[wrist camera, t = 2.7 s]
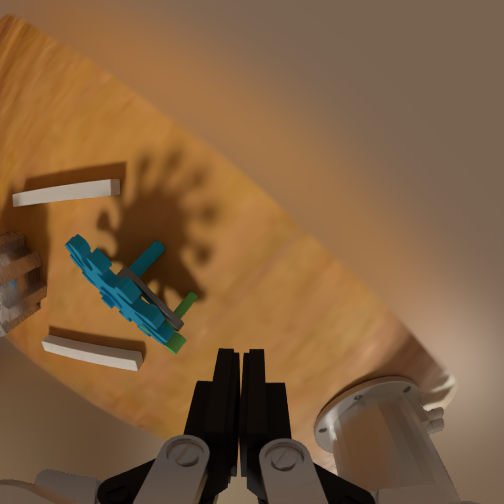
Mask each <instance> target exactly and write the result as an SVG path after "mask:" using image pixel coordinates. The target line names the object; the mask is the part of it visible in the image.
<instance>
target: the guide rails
mask: <svg viewBox="0 0 504 504" xmlns="http://www.w3.org/2000/svg"><path fill="white" fill-rule="evenodd" d="M119 194H120V179H109V180H100V181H91V182H84V183H76V184H69V185H62V186H56V187H50V188H44V189H38V190H32V191H27V192H22V193H17V194H13V207H17V206H24V205H31V204H38V203H46V202H54V201H62V200H71V199H81V198H91V197H102V196H113V195H119ZM42 344H43V347H44V350H45V351H49V352H52V353H56V354H59V355H63V356H67V357H71V358H75V359H79V360H83V361H87V362H92V363H96V364H101V365H106V366H111V367H116V368H122V369H127V370H133V371H138V370H139V369H140V367H141V365H142V364H143V358H142V354H141V352H140V351H132V350H125V349H119V348H113V347H107V346H101V345H96V344H90V343H85V342H80V341H75V340H71V339H66V338H62V337H57V336H53V335H48V336H46V337H45V338H44V339H43V340H42Z"/></svg>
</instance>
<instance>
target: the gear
mask: <svg viewBox="0 0 504 504" xmlns="http://www.w3.org/2000/svg"><path fill="white" fill-rule="evenodd" d="M65 247H66V248H67V249H68V251H69V252H70V253H71V255H70V257H71V259H72V260H73V261H74V263H75V264H76V265H77V266H78V267H79V268H80V269H81V270H82V271H83V272H82V273H83V275H84V276H85V277H86V279H87V280H88V281H89V282H90V283H91V284H93V285H94V286H95V287H96V288H98V289H99V290H100V292H99V293H100V294H101V295H102V296H103V297H102V298H101V299H102V300H103V301H104V302H105V303H106V304H107V305H108V306H109V307H110V308H111V309H112V308H113V307H114V305H115V306H116V307H117V308H118V309H119V310H120V311H119V313H120V314H121V315H122V316H124V317H125V318H126V319H127V320H128V321H129V322H131V321H132V320H133V321H134V322H135V323H136V324H137V325H138V326H137V327H138V328H139V329H140V330H141V331H142V332H144V333H145V334H146V335H147V336H149V337H150V336H152V337H153V338H154V339H155V340H157V341H158V342H160V343H161V344H163V345H164V346H165V347H166V348H167V349H168V350H170V351H171V352H172V353H174V354H176V353H177V352H178V351H179V349H180V348H181V347H182V346H183V344H184V343H185V342H186V339H185V338H184V337H183V336H182V335H180V334H179V333H177V332H178V331H179V330H180V329H181V327H182V326H183V325H184V323H183V321H182V320H181V318H182V316H183V315H184V314H185V313H186V311H187V310H188V309H189V308H190V306H191V305H192V304H193V303H194V301H195V300H196V299H197V298H198V297H197V295H196V294H195V293H193V292H192V291H190V292H189V294H188V295H187V296H186V297H185V298H184V300H183V301H182V302H181V303H180V305H179V306H178V307H177V308H176V309H175V311H174V312H172V311H171V310H170V309H169V308H168V307H167V306H166V305H165V304H164V303H163V302H162V301H161V300H160V299H159V298H158V297H157V296H156V295H155V294H154V293H153V292H152V291H151V290H150V289H149V288H148V287H147V286H146V285H145V284H144V283H143V282H142V281H141V280H140V279H139V277H140V276H141V275H142V274H143V273H144V272H145V271H146V270H147V269H148V268H149V267H150V265H151V264H152V263H153V262H154V261H155V260H156V259H157V258H158V257H159V256H160V255H161V254H162V253H163V252H164V251H165V248H164V246H163V245H162V244H161V243H160V242H159V241H155V242H154V243H153V244H152V245H151V246H150V247H149V248H148V249H147V250H146V251H145V252H144V253H143V254H142V255H141V256H140V257H139V258H138V259H137V260H136V261H135V262H134V263H133V264H132V265H131V266H130V267H129V268H128V267H123V269H122V270H121V271H120V272H119V273H118V274H117V275H115V274H114V273H113V272H112V271H111V270H110V269H109V268H110V267H111V266H112V263H111V261H110V260H109V259H108V258H107V257H106V256H105V255H104V254H103V253H102V252H101V251H100V250H99V249H98V248H96V249H95V250H94V251H93V252H92V253H91V251H90V249H91V248H90V246H89V244H88V243H87V241H86V240H85V239H84V238H82V237H81V236H80V235H78V234H77V235H76V236H75V237H72V238H71V239H70V240H69V241H68V242H67V243H66V244H65ZM140 294H141V295H142V296H143V297H144V298H145V299H146V300H147V301H148V302H149V303H150V304H151V305H150V304H148V303H146V302H145V301H143V300H142V299H141V298H139V296H140ZM174 330H175V331H177V332H175V331H174ZM170 337H171V338H170ZM169 338H170V339H169ZM167 341H168V342H167ZM166 342H167V343H166ZM165 343H166V344H165Z"/></svg>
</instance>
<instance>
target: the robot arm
mask: <svg viewBox="0 0 504 504" xmlns="http://www.w3.org/2000/svg"><path fill="white" fill-rule="evenodd" d="M422 401H423V397H422V392H421V391H420V389H419V387H418V386H417V385H416V384H415V382H414V381H412V380H410V379H408V378H405V377H400V376H388V377H381V378H377V379H373V380H370V381H367V382H364V383H362V384H359V385H357V386H355V387H353V388H351V389H349V390H347V391H345V392H344V393H342V394H341V395H339V396H338V397H336V398H335V399H334V400H333V401H331V402H330V403H329V404H328V405H327V406H326V407H325V408H324V409H323V410H322V412H321V413H320V414H319V416H318V418H317V419H316V422H315V425H314V435H315V440H316V442H317V444H318V446H319V447H321V448H322V449H323V450H325V451H327V452H329V453H333V454H334V459H335V464H336V468H337V473H338V476H337V475H335V474H333V473H331V472H329V471H328V470H326V469H324V468H322V467H320V466H319V465H317V464H315V463H313V462H312V459H311V456H310V453H309V451H308V450H307V448H306V447H305V446H304V445H303V444H302V443H300V442H298V441H296V440H293V439H292V437H291V429H290V420H289V412H288V404H287V395H286V387H285V383H265V360H264V349H250V350H249V353H244V356H243V372H242V388H241V394H240V359H239V353H234V349H223V348H219V350H218V355H217V360H216V365H215V371H214V376H213V381H197V383H196V386H195V390H194V394H193V398H192V402H191V406H190V410H189V414H188V418H187V422H186V426H185V430H184V434H183V435H178V436H175V437H172V438H170V439H169V440H167V441H166V442H165V443H164V445H163V446H162V448H161V450H160V452H159V454H158V456H157V458H155V459H153V460H151V461H149V462H147V463H145V464H143V465H140V466H138V467H136V468H133V469H131V470H129V471H126V472H124V473H121V474H119V475H116V476H114V477H111V478H109V479H107V480H105V481H103V480H98V479H97V478H95V477H88V476H82V475H76V474H70V473H65V472H61V471H57V470H52V469H46V470H43V471H41V472H40V473H39V474H38V475H37V477H36V479H35V483H34V484H32V483H28V482H24V481H20V480H13V479H2V480H0V504H216V503H217V500H218V495H219V493H220V492H222V491H223V490H225V489H226V488H227V487H228V483H230V479H231V476H234V477H236V475H237V461H238V444H239V446H240V463H241V476H242V477H247V489H249V490H250V491H251V492H252V493H254V494H255V495H256V496H257V499H258V504H480V503H477V502H472V501H461V500H460V498H459V495H458V493H457V491H456V489H455V487H454V485H453V482H452V480H451V478H450V476H449V474H448V472H447V470H446V468H445V466H444V464H443V462H442V460H441V458H440V456H439V454H438V452H437V450H436V448H435V446H434V444H433V442H432V440H431V439H430V437H429V435H430V434H433V433H436V432H439V431H442V429H443V428H444V420H443V418H442V416H443V414H444V410H443V408H442V407H438V408H435V409H431V410H429V411H426V410H424V409H423V407H422Z"/></svg>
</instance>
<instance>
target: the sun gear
mask: <svg viewBox="0 0 504 504" xmlns="http://www.w3.org/2000/svg"><path fill="white" fill-rule="evenodd" d="M25 239H26V236H25V235H23V234H21V233H20V232H18V231H17V232H14V233H11V234H8V233H7V232H6V233H3V234H0V336H1V337H2V336H4V335H6V334H7V333H8V332H10V331H11V330H12V329H14V328H15V327H16V326H18V325H19V324H20V323H22V322H23V321H24V320H26V319H27V318H28V317H30V316H31V315H32V314H34V313H35V312H37V311H38V310H39V309H40V307H39V305H38V302H39V301H41V300H42V299H44V298H45V297H46V287H47V285H45V284H44V283H42V282H41V281H40V276H39V271H38V267H39V266H41V265H42V262H41V260H40V258H39V255H38V253H37V252H34V253H32V254H31V252H30V251H29V249H28V248H27V247H26V246H25Z"/></svg>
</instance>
